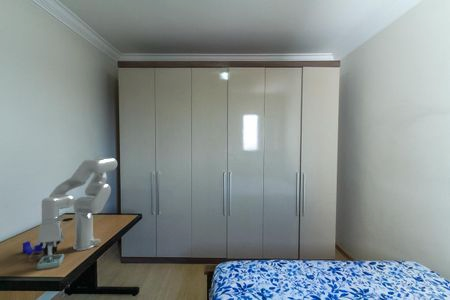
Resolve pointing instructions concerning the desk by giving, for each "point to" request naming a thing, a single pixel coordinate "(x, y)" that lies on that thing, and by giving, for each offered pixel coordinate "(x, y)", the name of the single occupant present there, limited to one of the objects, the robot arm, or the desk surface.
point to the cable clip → (29, 250)
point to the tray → (45, 265)
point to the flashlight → (50, 252)
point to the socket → (36, 256)
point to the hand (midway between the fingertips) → (50, 253)
